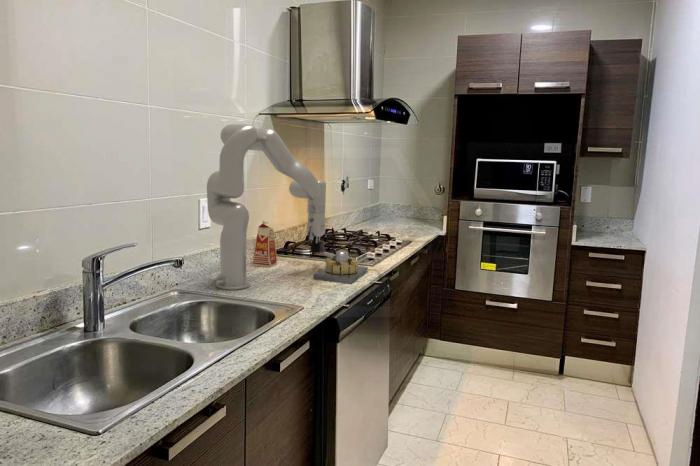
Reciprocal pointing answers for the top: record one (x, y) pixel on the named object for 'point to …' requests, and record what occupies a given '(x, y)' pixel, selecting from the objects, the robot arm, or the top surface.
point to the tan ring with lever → (344, 266)
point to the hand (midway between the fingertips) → (314, 251)
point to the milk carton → (265, 247)
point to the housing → (340, 278)
